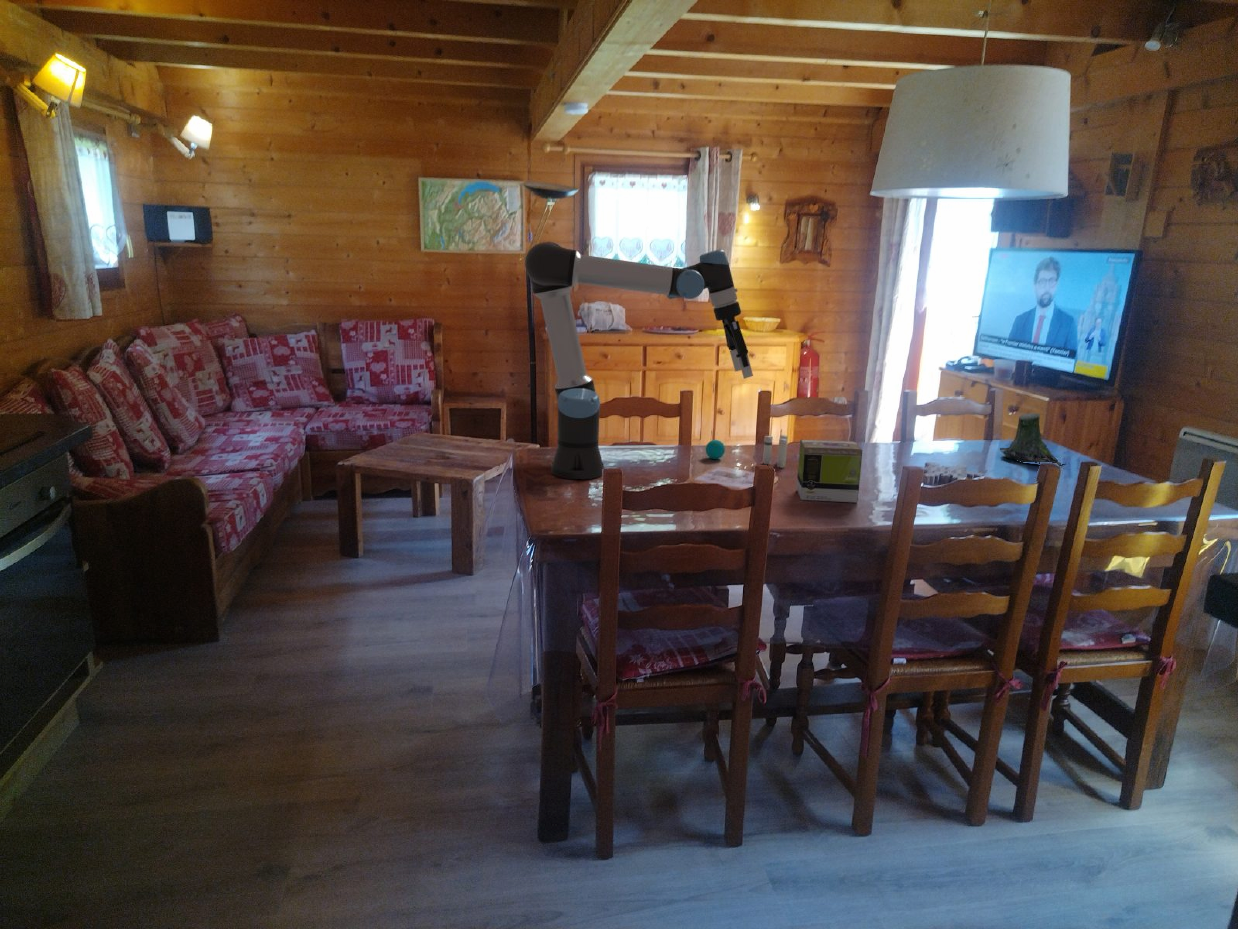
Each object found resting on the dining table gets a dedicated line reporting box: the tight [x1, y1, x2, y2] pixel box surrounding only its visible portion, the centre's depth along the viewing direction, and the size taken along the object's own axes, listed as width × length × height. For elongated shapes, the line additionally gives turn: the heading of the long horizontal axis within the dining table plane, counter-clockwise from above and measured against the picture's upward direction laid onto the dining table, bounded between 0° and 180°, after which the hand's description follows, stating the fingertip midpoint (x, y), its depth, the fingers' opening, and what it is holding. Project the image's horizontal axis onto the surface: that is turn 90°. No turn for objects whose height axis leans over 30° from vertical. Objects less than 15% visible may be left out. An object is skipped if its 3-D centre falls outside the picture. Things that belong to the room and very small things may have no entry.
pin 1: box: [779, 434, 789, 462], centre depth 250 cm, size 2×2×8 cm
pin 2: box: [776, 438, 788, 469], centre depth 245 cm, size 2×2×8 cm
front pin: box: [762, 435, 773, 465], centre depth 248 cm, size 2×2×8 cm
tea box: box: [796, 439, 863, 504], centre depth 216 cm, size 15×10×15 cm, turn 84°
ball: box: [705, 439, 726, 460], centre depth 252 cm, size 6×6×6 cm
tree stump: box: [999, 412, 1062, 466], centre depth 263 cm, size 18×20×18 cm
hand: (743, 373), depth 240 cm, fingers open, 13 cm apart
